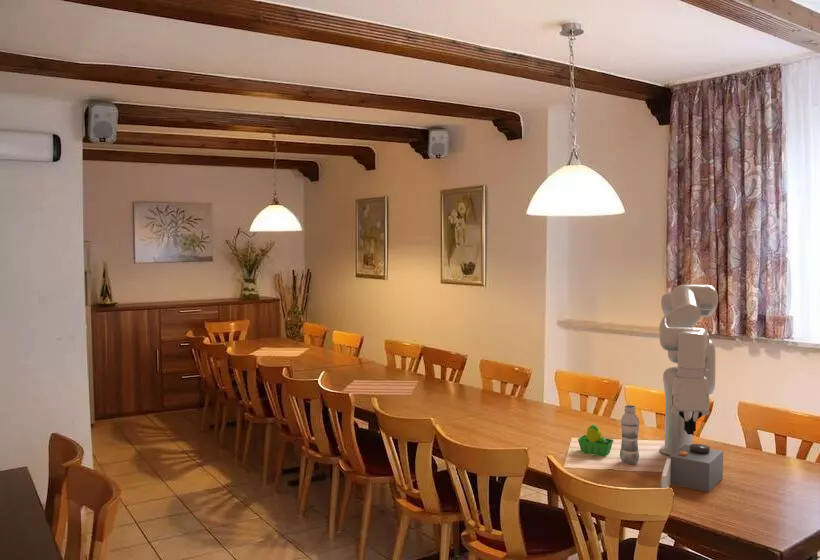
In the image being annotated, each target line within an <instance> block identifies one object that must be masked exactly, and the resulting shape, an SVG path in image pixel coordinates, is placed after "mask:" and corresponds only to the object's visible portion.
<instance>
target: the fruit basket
mask: <svg viewBox="0 0 820 560" xmlns="http://www.w3.org/2000/svg"><path fill="white" fill-rule="evenodd" d="M602 435H603V434H602V431H601V429H600V428H599V427H598V426H597V425H596V424H592V425H590V426H588V427H587V431H586V434H584V435H582V436H581V437H579V438H577V442H578V445H579V447H580V452H581V454H586V455H593V456H597V457H604V458H605V457H607V456H608V455H609V454H610V453H611V449H612V445H613V443H614V441H615V440H614V439H611V438H605V437H604V436H602Z"/></svg>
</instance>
